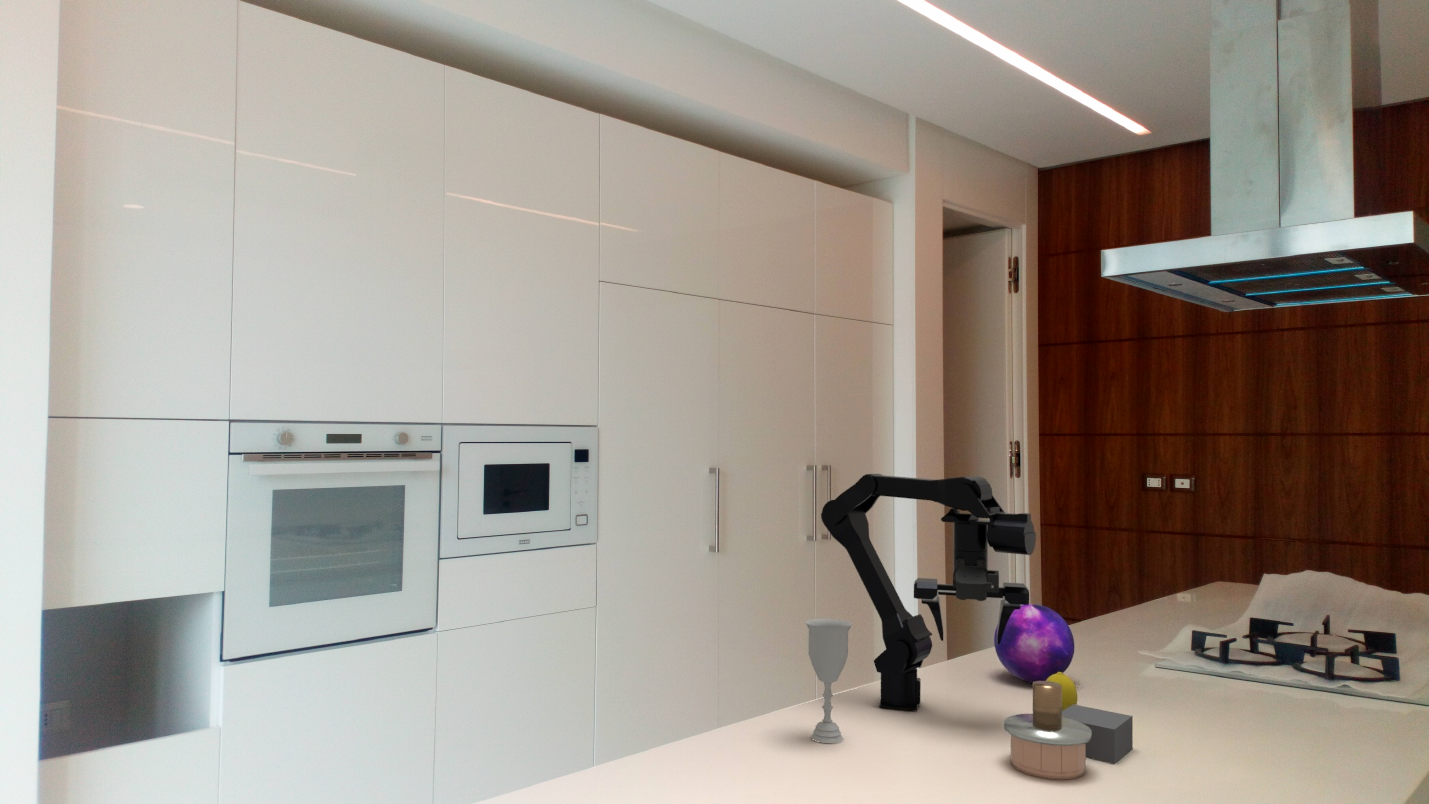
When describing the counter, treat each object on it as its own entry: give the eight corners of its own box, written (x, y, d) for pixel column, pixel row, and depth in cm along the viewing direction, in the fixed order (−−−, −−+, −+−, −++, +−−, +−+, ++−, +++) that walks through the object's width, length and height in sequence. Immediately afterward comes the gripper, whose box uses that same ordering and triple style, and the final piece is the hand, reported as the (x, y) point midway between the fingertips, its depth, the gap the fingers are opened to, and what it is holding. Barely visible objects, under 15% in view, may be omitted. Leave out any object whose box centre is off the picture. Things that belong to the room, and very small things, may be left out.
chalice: (854, 734, 144) (855, 620, 145) (846, 748, 138) (847, 629, 139) (809, 729, 147) (810, 617, 148) (799, 742, 140) (800, 625, 141)
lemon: (1080, 725, 151) (1080, 677, 152) (1045, 722, 152) (1045, 674, 153) (1074, 715, 157) (1074, 668, 157) (1040, 713, 158) (1040, 666, 158)
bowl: (1013, 774, 128) (1013, 739, 128) (1008, 751, 138) (1009, 718, 138) (1089, 782, 126) (1089, 746, 126) (1079, 758, 135) (1079, 724, 135)
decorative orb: (979, 679, 180) (979, 603, 180) (1018, 667, 190) (1018, 595, 191) (1050, 696, 169) (1051, 615, 169) (1088, 682, 179) (1088, 606, 179)
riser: (1053, 749, 139) (1053, 716, 139) (1073, 735, 146) (1073, 704, 146) (1114, 763, 133) (1114, 729, 134) (1132, 748, 140) (1132, 715, 140)
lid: (992, 733, 131) (992, 685, 131) (1018, 714, 140) (1019, 669, 141) (1079, 751, 124) (1079, 701, 124) (1100, 729, 133) (1100, 682, 134)
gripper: (912, 552, 149) (912, 648, 149) (1032, 558, 145) (1032, 657, 144) (915, 545, 160) (914, 634, 159) (1026, 550, 155) (1026, 642, 155)
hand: (969, 642), depth 154 cm, fingers open, 9 cm apart
